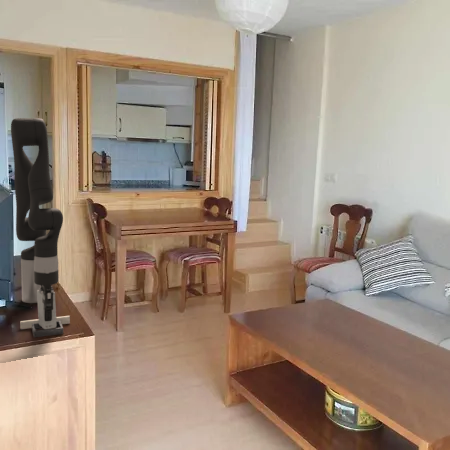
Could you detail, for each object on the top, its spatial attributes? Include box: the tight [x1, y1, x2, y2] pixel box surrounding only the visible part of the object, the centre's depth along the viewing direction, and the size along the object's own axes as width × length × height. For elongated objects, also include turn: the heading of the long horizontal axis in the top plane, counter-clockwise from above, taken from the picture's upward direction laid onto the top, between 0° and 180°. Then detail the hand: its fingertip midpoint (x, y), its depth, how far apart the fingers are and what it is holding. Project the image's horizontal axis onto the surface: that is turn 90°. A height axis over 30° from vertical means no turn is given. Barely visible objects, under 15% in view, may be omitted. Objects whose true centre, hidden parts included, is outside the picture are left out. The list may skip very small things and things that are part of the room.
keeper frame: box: [31, 321, 64, 338], centre depth 160 cm, size 7×9×2 cm
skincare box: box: [37, 290, 57, 330], centre depth 159 cm, size 6×4×12 cm
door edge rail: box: [19, 315, 71, 330], centre depth 165 cm, size 1×16×2 cm, turn 117°
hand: (46, 317), depth 159 cm, fingers closed on skincare box, 6 cm apart
